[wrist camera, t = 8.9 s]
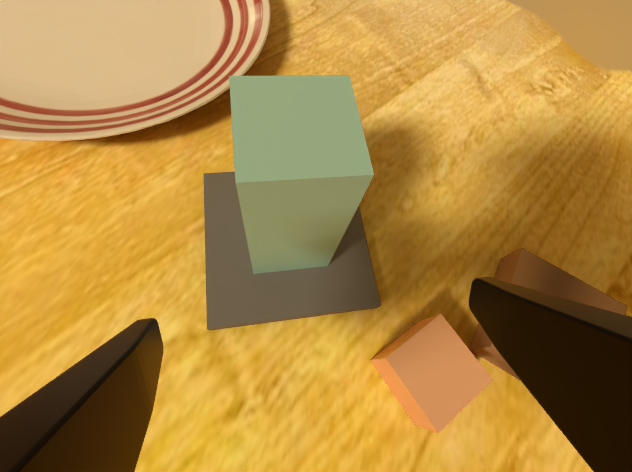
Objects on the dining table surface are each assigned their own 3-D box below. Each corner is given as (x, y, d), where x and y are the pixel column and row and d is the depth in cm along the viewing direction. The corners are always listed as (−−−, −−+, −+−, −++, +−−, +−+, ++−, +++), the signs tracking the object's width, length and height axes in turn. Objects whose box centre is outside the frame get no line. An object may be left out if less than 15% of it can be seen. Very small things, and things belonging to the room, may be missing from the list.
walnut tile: (590, 312, 22) (626, 305, 20) (571, 413, 19) (610, 418, 17) (497, 260, 23) (522, 247, 21) (466, 350, 20) (490, 347, 18)
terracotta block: (441, 313, 17) (418, 321, 20) (385, 358, 16) (369, 360, 19) (493, 379, 16) (461, 378, 19) (438, 433, 15) (412, 423, 18)
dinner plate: (189, -85, 34) (181, -129, 31) (330, 89, 27) (337, 54, 24) (-135, -33, 26) (-189, -86, 23) (-59, 240, 19) (-123, 215, 16)
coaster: (377, 307, 20) (380, 305, 19) (209, 330, 18) (207, 328, 18) (347, 172, 24) (349, 165, 23) (205, 180, 22) (203, 173, 21)
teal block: (327, 266, 20) (374, 174, 11) (253, 273, 19) (235, 182, 10) (317, 201, 22) (349, 75, 12) (248, 206, 21) (229, 75, 12)
